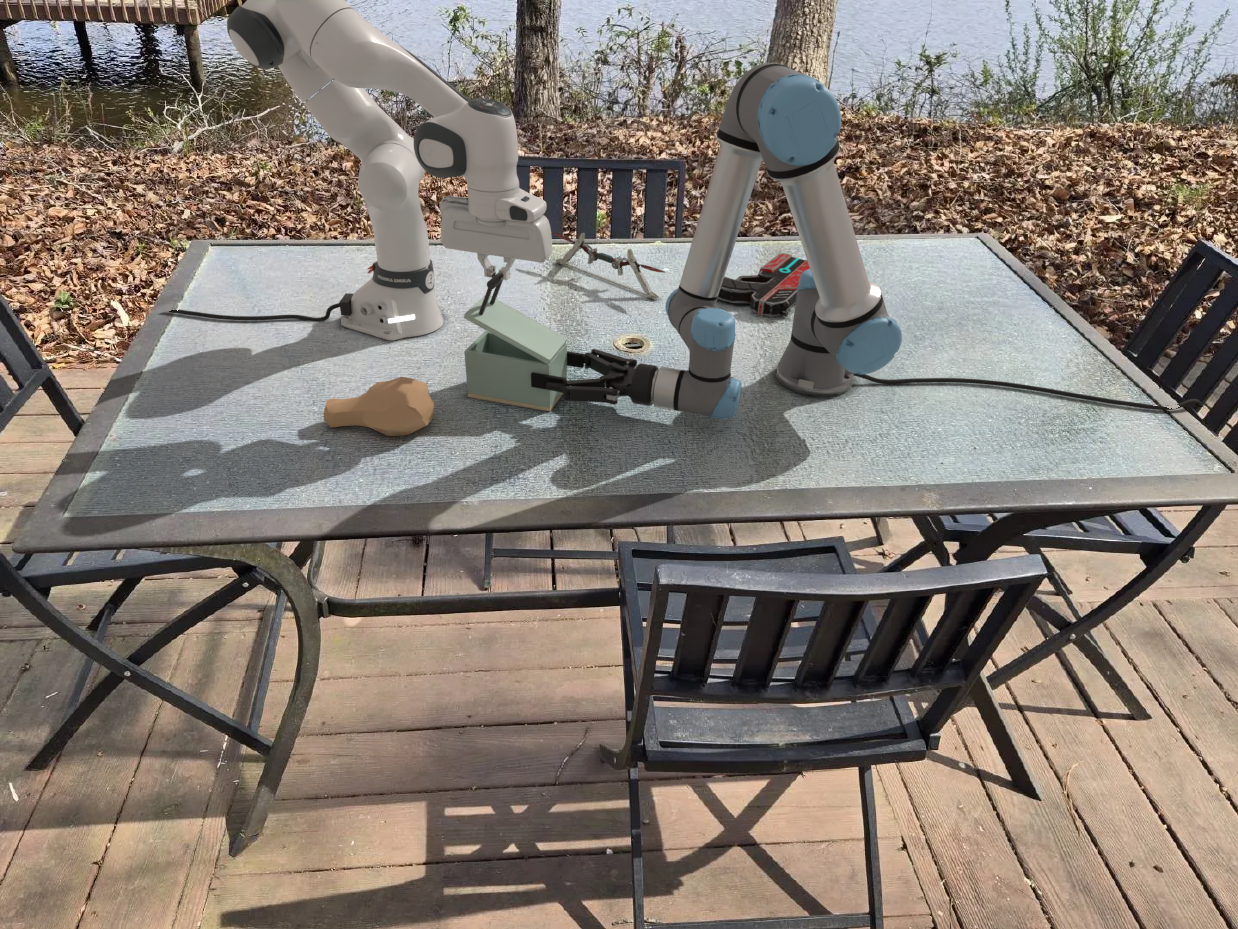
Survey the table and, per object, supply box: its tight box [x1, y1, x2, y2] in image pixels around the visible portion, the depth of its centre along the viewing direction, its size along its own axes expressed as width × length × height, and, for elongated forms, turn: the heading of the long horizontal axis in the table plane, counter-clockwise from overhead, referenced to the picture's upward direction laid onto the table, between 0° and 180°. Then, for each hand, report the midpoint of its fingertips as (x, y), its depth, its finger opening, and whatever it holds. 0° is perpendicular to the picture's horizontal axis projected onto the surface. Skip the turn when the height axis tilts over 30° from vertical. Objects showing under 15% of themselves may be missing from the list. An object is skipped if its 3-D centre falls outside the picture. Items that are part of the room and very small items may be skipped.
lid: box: [463, 271, 568, 364], centre depth 161 cm, size 18×10×8 cm, turn 72°
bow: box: [551, 231, 666, 300], centre depth 217 cm, size 39×2×10 cm, turn 47°
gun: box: [717, 252, 810, 318], centre depth 215 cm, size 4×31×19 cm
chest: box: [463, 330, 568, 412], centre depth 168 cm, size 17×10×10 cm, turn 73°
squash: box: [323, 376, 435, 437], centre depth 157 cm, size 11×20×9 cm, turn 90°
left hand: (497, 277), depth 159 cm, fingers closed
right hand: (541, 367), depth 166 cm, fingers closed on chest, 10 cm apart
